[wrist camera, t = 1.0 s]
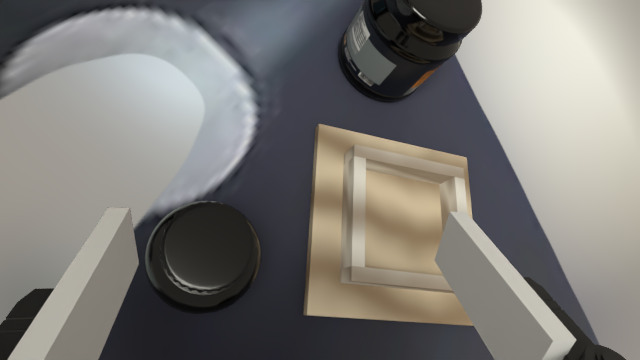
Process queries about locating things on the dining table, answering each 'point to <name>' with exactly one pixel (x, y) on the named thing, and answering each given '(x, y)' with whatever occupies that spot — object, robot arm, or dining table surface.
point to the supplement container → (403, 43)
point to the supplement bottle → (202, 257)
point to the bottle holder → (381, 229)
